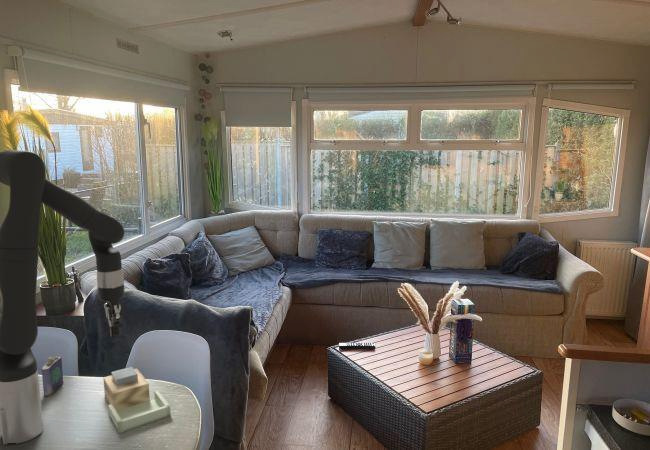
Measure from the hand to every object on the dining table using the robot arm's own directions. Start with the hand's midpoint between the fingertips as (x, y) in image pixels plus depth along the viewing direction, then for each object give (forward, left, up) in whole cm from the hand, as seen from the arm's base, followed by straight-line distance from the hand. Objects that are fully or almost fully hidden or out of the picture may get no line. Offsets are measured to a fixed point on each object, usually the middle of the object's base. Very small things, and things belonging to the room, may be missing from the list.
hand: (114, 336), depth 149 cm
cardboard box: (0, -10, -17) cm, 20 cm away
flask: (-17, +10, -17) cm, 26 cm away
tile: (0, -9, -11) cm, 14 cm away
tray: (0, -22, -17) cm, 27 cm away
